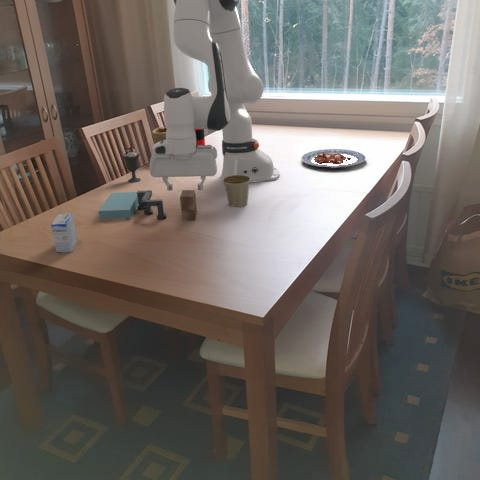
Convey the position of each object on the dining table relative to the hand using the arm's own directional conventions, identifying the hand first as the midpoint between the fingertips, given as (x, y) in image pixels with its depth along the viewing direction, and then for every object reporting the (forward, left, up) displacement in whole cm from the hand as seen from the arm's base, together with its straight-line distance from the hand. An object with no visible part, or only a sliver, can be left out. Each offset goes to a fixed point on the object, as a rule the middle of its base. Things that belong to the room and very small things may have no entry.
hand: (185, 189), depth 158 cm
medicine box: (+32, +19, -10) cm, 39 cm away
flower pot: (-16, -10, -9) cm, 21 cm away
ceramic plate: (-54, -54, -10) cm, 77 cm away
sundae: (+25, -40, -9) cm, 49 cm away
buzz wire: (+12, -5, -9) cm, 16 cm away
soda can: (+5, -88, -9) cm, 89 cm away
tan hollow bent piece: (+14, -65, -10) cm, 67 cm away
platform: (+23, -9, -9) cm, 27 cm away
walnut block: (-1, 0, -9) cm, 9 cm away
